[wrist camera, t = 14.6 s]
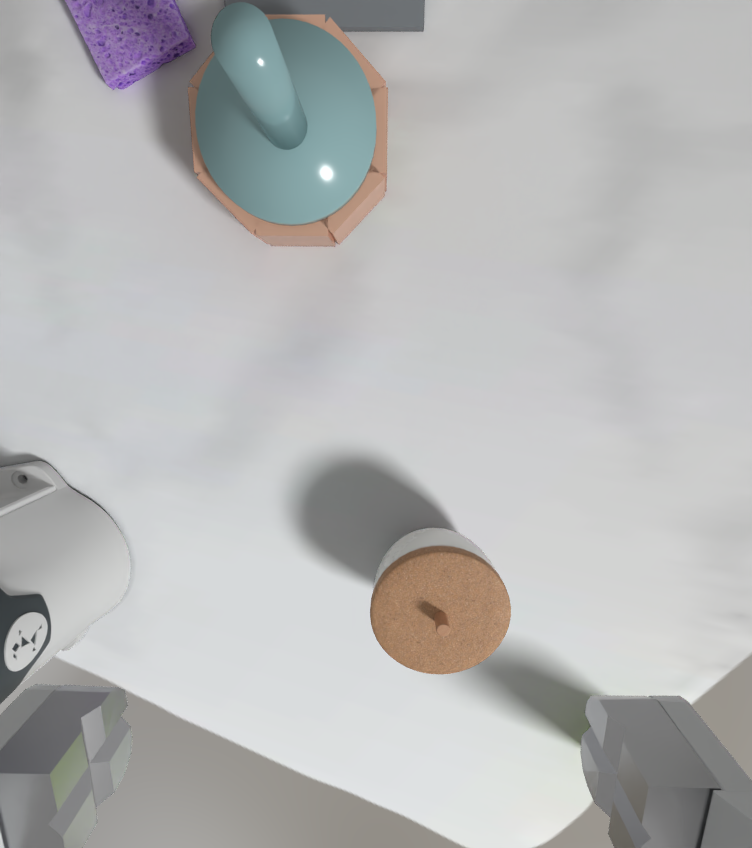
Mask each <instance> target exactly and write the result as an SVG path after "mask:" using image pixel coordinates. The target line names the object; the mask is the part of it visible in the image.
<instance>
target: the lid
mask: <svg viewBox="0 0 752 848" xmlns="http://www.w3.org/2000/svg"><path fill="white" fill-rule="evenodd" d="M211 43H212V48H213V51H214V54H215V55H214V56H213V58H212V59H211V61H210V62H209V64H208V66H207V68H206V70H205V72H204V74H203V77H202V80H201V83H200V86H199V90H198V95H197V100H196V109H195V125H196V133H197V140H198V144H199V148H200V151H201V154H202V157H203V159H204V162H205V164H206V166H207V168H208V170H209V172H210V174H211V176H212V177H213V179H214V180H215V182H216V183H217V185H218V186H219V187H220V188H221V190H222V191H223V192H224V193H225V194H226V195H227V196H228V197H229V198H230V199H231V200H232V201H233V202H234V203H235V204H237V205H238V206H239V207H241V208H242V209H243V210H245V211H246V212H248V213H249V214H251V215H253V216H255V217H257V218H259V219H261V220H264V221H266V222H269V223H273V224H278V225H284V226H301V225H307V224H312V223H315V222H318V221H321V220H324V219H325V218H327V217H329V216H331V215H333V214H335V213H336V212H337V211H339V210H340V209H341V208H343V207H344V206H345V205H346V204H347V203H348V202H349V201H350V200H351V199H352V198H353V197H354V195H355V194H356V193H357V192H358V190H359V189H360V187H361V186H362V184H363V182H364V181H365V179H366V176H367V174H368V172H369V170H370V167H371V164H372V160H373V157H374V152H375V146H376V134H377V129H376V111H375V105H374V99H373V96H372V92H371V89H370V86H369V83H368V81H367V78H366V76H365V74H364V72H363V70H362V68H361V67H360V65H359V63H358V62H357V60H356V59H355V58H354V56H353V55H352V54H351V52H350V51H349V50H348V49H347V48H346V47H345V46H344V45H343V44H342V43H341V42H340V41H339V40H338V39H336V38H335V37H334V36H333V35H331V34H330V33H328V32H326V31H325V30H323V29H321V28H320V27H317V26H315V25H312V24H310V23H307V22H303V21H299V20H295V19H283V18H282V19H270V20H268V18H267V17H266V16H265V14H264V13H263V12H262V11H261V10H260V9H258V8H257V7H256V6H254V5H252V4H249V3H245V2H237V3H232V4H230V5H228V6H226V7H225V8H224V9H222V10H221V11H220V12H219V14H218V15H217V17H216V18H215V20H214V23H213V26H212V31H211Z"/></svg>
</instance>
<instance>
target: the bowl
mask: <svg viewBox="0 0 752 848" xmlns="http://www.w3.org/2000/svg"><path fill="white" fill-rule="evenodd" d="M265 16H266V17H267V18H268V20H270V19H282V18H283V19H295V20H299V21H303V22H307V23H310V24H312V25H315V26H317V27H320V28H321V29H323V30H325V31H326V32H328V33H330V34H331V35H333V36H334V37H335V38H336V39H338V40H339V41H340V42H341V43H342V44H343V45H344V46H345V47H346V48H347V49H348V50H349V51H350V52H351V54H352V55H353V56H354V58H355V59H356V60H357V62H358V63H359V65H360V67H361V68H362V70H363V72H364V74H365V76H366V78H367V81H368V83H369V86H370V89H371V92H372V96H373V99H374V105H375V111H376V129H377V134H376V146H375V152H374V157H373V160H372V164H371V167H370V170H369V172H368V174H367V176H366V179H365V181H364V182H363V184H362V186H361V187H360V189H359V190H358V192H357V193H356V194H355V195H354V197H353V198H352V199H351V200H350V201H349V202H348V203H347V204H346V205H345V206H344V207H343V208H341V209H340V210H339V211H337V212H336V213H335V214H333V215H331V216H329V217H327V218H325V219H324V220H321V221H318V222H315V223H312V224H307V225H301V226H284V225H278V224H273V223H269V222H266V221H264V220H261V219H259V218H257V217H255V216H253V215H251V214H249V213H248V212H246V211H245V210H243V209H242V208H241V207H239V206H238V205H237V204H235V203H234V202H233V201H232V200H231V199H230V198H229V197H228V196H227V195H226V194H225V193H224V192H223V191H222V190H221V188H220V187H219V186H218V185H217V183H216V182H215V180H214V179H213V177H212V176H211V174H210V172H209V170H208V168H207V166H206V164H205V162H204V159H203V157H202V154H201V151H200V148H199V144H198V140H197V133H196V125H195V109H196V100H197V95H198V90H199V86H200V83H201V80H202V77H203V74H204V72H205V70H206V68H207V66H208V64H209V62H210V61H211V59H212V58H213V56H214V55H215V54H214V51H213V52H212V54H211V55H210V56H209V57H208V59H207V60H206V61H205V63H204V64H203V65H202V66H201V68H200V69H199V70H198V71H197V73H196V74H195V75H194V76H193V78H192V79H191V80H190V81H189V82H190V83H191V84H192V85H193V86H194V87H188V96H189V110H190V123H191V136H192V149H193V162H194V172H195V173H196V174H197V175H198V176H197V178H198V179H199V180H200V181H201V182H202V183H203V184H204V185H205V186H206V187H207V188H208V189H209V191H210V192H211V193H212V194H213V195H214V196H215V197H216V198H217V199H218V200H219V201H220V202H221V203H222V204H223V205H224V206H225V207H226V208H227V209H228V210H229V211H230V212H231V213H232V214H233V215H234V216H235V217H236V218H237V219H238V220H239V221H240V222H241V223H242V224H243V225H244V226H245V227H246V228H247V229H248V230H249V231H250V233H251V234H253V235H254V236H256V237H258V238H259V239H261V240H262V241H264V242H265V243H267V244H270V245H271V246H335V241H336V242H337V243H338V244H340V243H341V242H342V241H343V240H344V239H345V238H346V237H347V236H348V235H349V234H350V233H351V231H352V230H353V229H354V228H355V227H356V226H357V225H358V224H359V223H360V222H361V221H362V220H363V219H364V218H365V216H366V215H367V214H368V213H369V212H370V211H371V210H372V209H373V208H374V207H375V206H376V205H377V204H378V203H379V201H380V200H381V199H382V198H383V197H384V196H385V191H386V184H387V112H388V88H386V81H385V80H384V79H383V78H382V77H381V76H380V74H379V73H378V72H377V71H376V70H375V69H374V67H373V66H372V65H371V64H370V63H369V62H368V60H367V59H366V58H365V57H364V56H363V55H362V53H361V52H360V51H359V50H358V49H357V48H356V47H355V45H354V44H353V43H352V42H351V41H350V40H349V38H348V37H347V36H346V35H345V34H344V33H343V31H342V30H341V29H340V28H339V27H338V26H337V24H336V23H335V22H334V21H333V20H332V19H331V17H330V18H329V19H328V20H327V21H326V17H325V14H315V15H265Z"/></svg>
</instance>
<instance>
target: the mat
mask: <svg viewBox="0 0 752 848" xmlns="http://www.w3.org/2000/svg"><path fill="white" fill-rule="evenodd" d="M237 2H245V3H249V4H252V5H254V6H256V7H257V8H258V9H260V10H261V11H262V12H263V13H264V14H265V15H315V14H325V17H326V21H327V20H328V19H329V18H330V17H331V19H332V20H333V21H334V22H335V23H336V24H337V26H338V27H339V28H340V29H341V30H342V31H423V30H424V5H425V0H225V7H226V6H228V5H230V4H232V3H237Z"/></svg>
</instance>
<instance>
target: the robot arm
mask: <svg viewBox="0 0 752 848" xmlns="http://www.w3.org/2000/svg"><path fill="white" fill-rule="evenodd" d="M24 475H25V476H26V477H27V480H26V479H25V478H24ZM130 574H131V561H130V555H129V550H128V547H127V544H126V542H125V539H124V537H123V535H122V533H121V531H120V530H119V528H118V527H117V525H116V524H115V522H114V521H113V520H112V519H111V518H110V516H109V515H108V514H107V513H106V512H105V511H104V510H103V509H101V508H100V507H99V506H98V505H97V504H95V503H94V502H92V501H91V500H89V499H88V498H86V497H84V496H83V495H81V494H79V493H78V492H76V491H75V490H73V489H72V488H70V487H69V486H68V485H67V484H66V482H65V481H64V480H63V479H62V478H61V476H60V475H59V474H58V473H57V472H56V471H55V470H54V469H53V468H52V467H51V466H50V465H49V464H47V463H45V462H43V461H33V462H27V463H22V464H17V465H11V466H6V467H0V704H1V703H2V702H3V701H4V700H5V699H6V698H7V697H8V696H9V695H10V694H11V693H12V692H13V691H14V690H15V689H16V688H17V687H18V686H19V685H20V684H21V683H23V682H24V681H25V680H26V679H28V678H29V677H30V676H31V675H32V674H33V673H35V672H36V671H37V670H38V669H40V667H42V666H43V665H44V664H45V663H47V662H48V661H49V660H50V659H51V658H53V657H54V656H55V655H56V654H57V653H58V652H60V651H61V650H62V651H65V650H69V649H71V648H72V647H73V646H75V645H76V644H77V643H78V642H79V641H80V640H81V639H82V638H83V636H84V635H85V633H86V631H87V630H88V628H89V626H90V625H91V624H93V623H94V622H96V621H97V620H99V619H100V618H102V617H103V616H104V615H106V614H107V613H109V612H110V611H111V610H112V609H114V608H115V607H116V606H117V604H118V603H119V602H120V601H121V599H122V598H123V596H124V594H125V592H126V590H127V587H128V584H129V580H130ZM127 706H128V703H127V698H126V693H125V690H124V689H122V688H119V687H103V686H80V685H43V684H35V685H33V686H31V687H29V688H27V689H25V690H24V691H23V692H22V693H21V694H20V695H19V696H18V697H17V698H16V699H15V700H14V701H13V702H12V703H11V704H10V705H9V706H8V707H7V709H6V710H5V711H4V712H3V713H2V714H1V715H0V848H83V847H84V845H85V843H86V841H87V840H88V838H89V836H90V834H91V833H92V831H93V829H94V827H95V826H96V824H97V808H96V807H97V806H98V805H100V804H101V803H102V802H103V801H104V800H106V799H107V798H108V797H109V796H111V795H112V794H113V793H114V792H115V790H116V789H117V787H118V785H119V783H120V781H121V779H122V778H123V776H124V773H125V771H126V767H127V764H128V761H129V758H130V755H131V749H132V731H131V726H130V725H129V724H128V723H127V722H126V721H125V720H124V719H123V718H122V717H121V715H122V714H123V712H124V711H125V709H126V708H127ZM585 715H586V717H587V719H588V721H589V723H590V725H591V727H590V728H589V729H588V730H587V731H586V732H585V733H584V734H583V735H582V741H581V760H582V767H583V773H584V776H585V779H586V783H587V786H588V788H589V791H590V793H591V795H592V798H593V800H594V802H595V804H596V805H597V806H599V807H600V808H601V809H602V810H603V811H604V812H605V813H606V814H607V815H608V816H609V817H610V824H609V832H608V835H609V837H610V839H611V841H612V844H613V846H614V848H752V780H751V779H750V778H749V776H748V775H747V774H746V773H745V772H744V770H743V769H742V768H741V766H740V765H739V764H738V763H737V762H736V760H735V759H734V758H733V757H732V755H731V754H730V753H729V752H728V750H727V749H726V748H725V747H724V745H723V744H722V743H721V742H720V740H719V739H718V738H717V737H716V736H715V734H714V733H713V732H712V731H711V729H710V728H709V727H708V726H707V725H706V723H705V722H704V721H703V719H702V718H701V717H700V716H699V714H698V713H697V712H696V711H695V710H694V709H693V707H692V706H691V705H690V703H689V702H688V701H687V700H685V699H684V698H682V697H681V696H649V697H647V696H592V695H591V696H590V698H589V699H588V701H587V704H586V710H585Z"/></svg>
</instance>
